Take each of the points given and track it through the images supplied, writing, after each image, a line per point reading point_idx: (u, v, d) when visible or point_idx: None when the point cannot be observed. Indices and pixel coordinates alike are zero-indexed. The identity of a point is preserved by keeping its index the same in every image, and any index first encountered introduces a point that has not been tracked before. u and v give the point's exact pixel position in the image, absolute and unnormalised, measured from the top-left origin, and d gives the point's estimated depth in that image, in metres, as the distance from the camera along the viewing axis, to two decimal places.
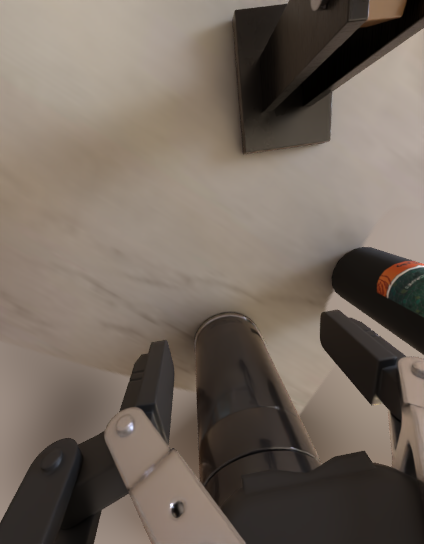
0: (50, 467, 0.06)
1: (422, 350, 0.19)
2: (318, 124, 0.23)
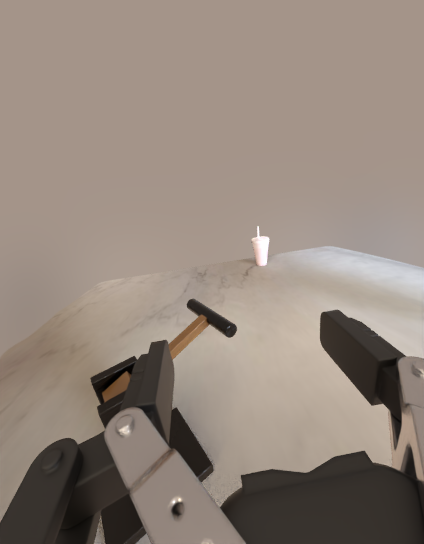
0: (50, 467, 0.06)
1: None
2: (123, 524, 0.21)
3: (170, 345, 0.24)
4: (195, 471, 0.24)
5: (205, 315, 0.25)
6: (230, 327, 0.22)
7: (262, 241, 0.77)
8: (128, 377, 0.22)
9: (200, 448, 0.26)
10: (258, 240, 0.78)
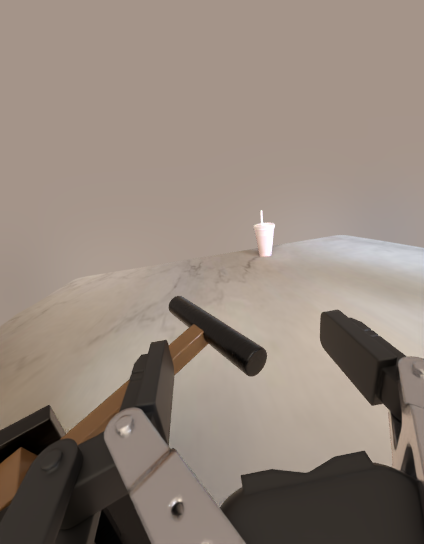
0: (50, 467, 0.06)
1: None
2: None
3: None
4: None
5: (201, 327, 0.13)
6: (255, 355, 0.10)
7: (267, 227, 0.65)
8: (16, 468, 0.09)
9: None
10: (262, 226, 0.66)
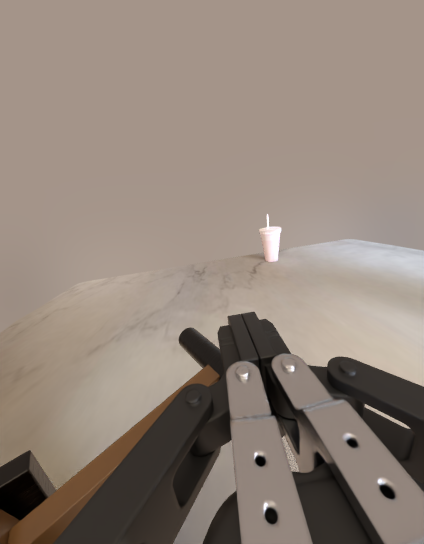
0: (190, 402, 0.07)
1: None
2: None
3: (130, 437, 0.10)
4: None
5: (217, 369, 0.12)
6: None
7: (273, 231, 0.63)
8: None
9: None
10: (268, 230, 0.64)
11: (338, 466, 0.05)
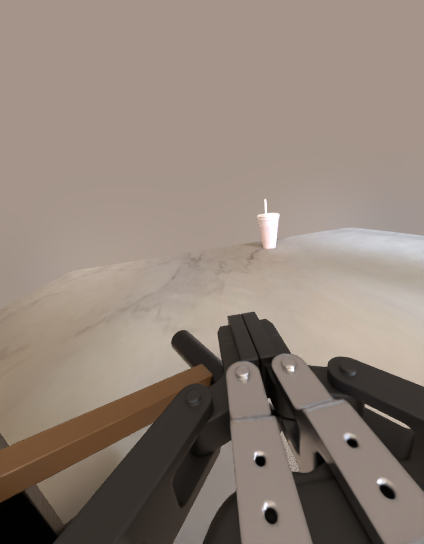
0: (190, 402, 0.07)
1: None
2: None
3: (109, 409, 0.09)
4: None
5: (211, 369, 0.12)
6: None
7: (271, 217, 0.62)
8: None
9: None
10: (266, 216, 0.63)
11: (338, 466, 0.05)
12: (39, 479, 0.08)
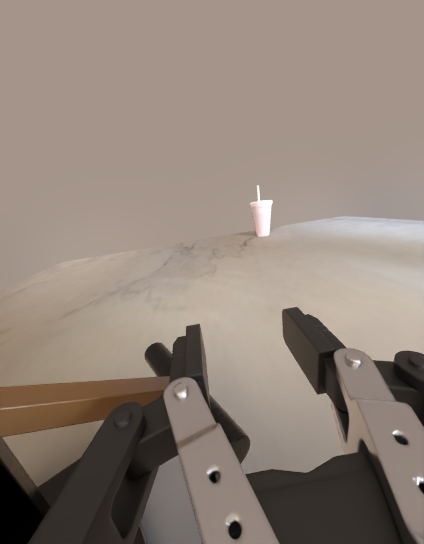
0: (120, 424, 0.07)
1: None
2: None
3: (74, 387, 0.09)
4: None
5: None
6: (242, 442, 0.09)
7: (264, 203, 0.61)
8: None
9: None
10: (259, 202, 0.62)
11: (377, 451, 0.05)
12: None
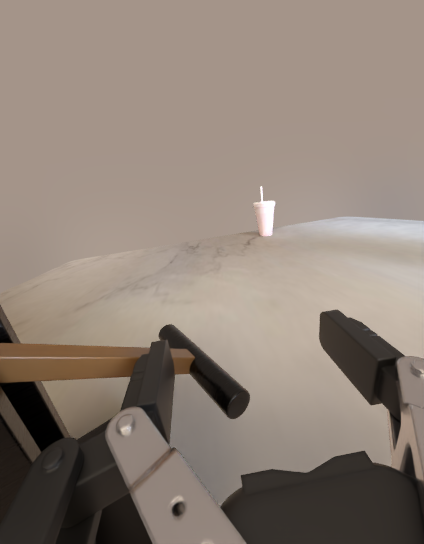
0: (51, 466, 0.06)
1: None
2: None
3: (108, 349, 0.11)
4: None
5: (193, 354, 0.13)
6: (243, 396, 0.11)
7: (267, 204, 0.63)
8: None
9: None
10: (262, 203, 0.64)
11: (419, 454, 0.05)
12: (38, 379, 0.09)
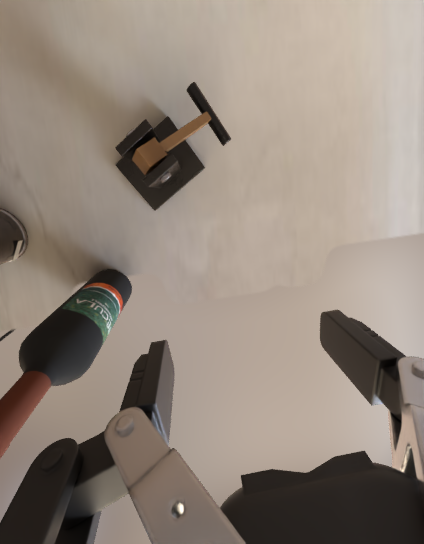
0: (50, 467, 0.06)
1: None
2: (156, 198, 0.38)
3: (184, 129, 0.28)
4: (193, 171, 0.37)
5: (210, 115, 0.30)
6: (229, 140, 0.31)
7: None
8: (160, 145, 0.25)
9: (195, 156, 0.36)
10: None
11: (420, 454, 0.05)
12: (171, 147, 0.28)
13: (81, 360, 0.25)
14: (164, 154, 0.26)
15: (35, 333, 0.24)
